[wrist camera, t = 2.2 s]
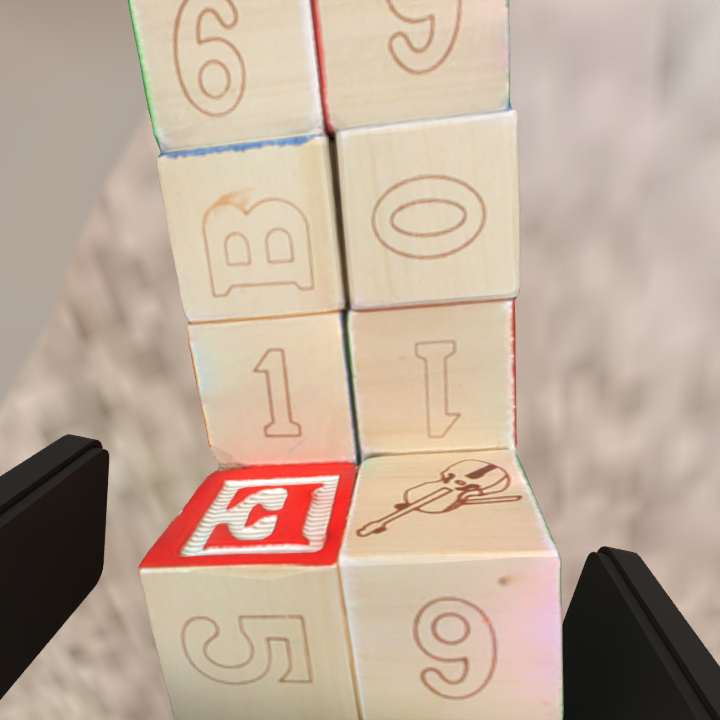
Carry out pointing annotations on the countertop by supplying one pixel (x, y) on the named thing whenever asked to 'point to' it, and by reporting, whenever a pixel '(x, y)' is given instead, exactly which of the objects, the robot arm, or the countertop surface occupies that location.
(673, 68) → the countertop surface
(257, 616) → the stack of blocks
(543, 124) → the countertop surface
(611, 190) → the countertop surface
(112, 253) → the countertop surface
